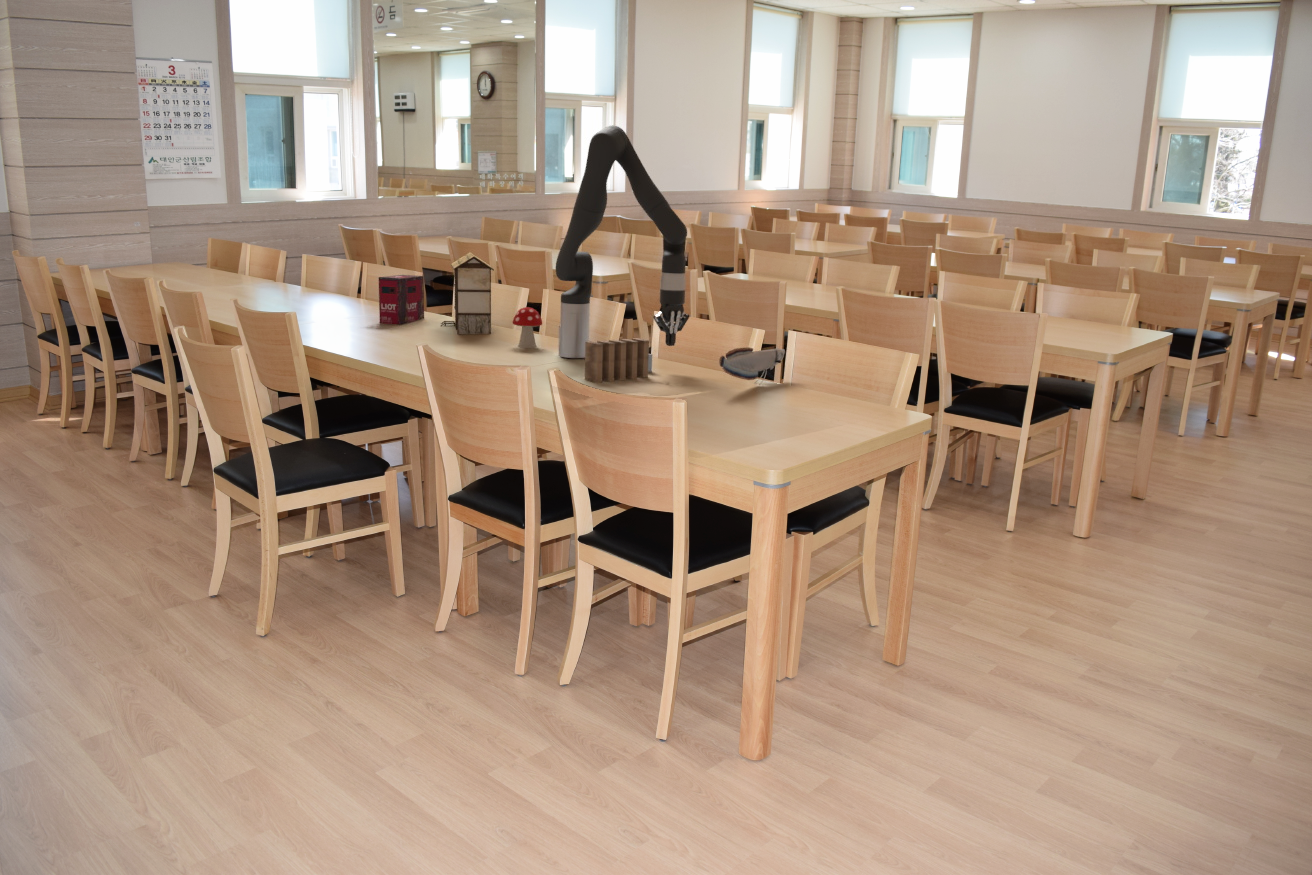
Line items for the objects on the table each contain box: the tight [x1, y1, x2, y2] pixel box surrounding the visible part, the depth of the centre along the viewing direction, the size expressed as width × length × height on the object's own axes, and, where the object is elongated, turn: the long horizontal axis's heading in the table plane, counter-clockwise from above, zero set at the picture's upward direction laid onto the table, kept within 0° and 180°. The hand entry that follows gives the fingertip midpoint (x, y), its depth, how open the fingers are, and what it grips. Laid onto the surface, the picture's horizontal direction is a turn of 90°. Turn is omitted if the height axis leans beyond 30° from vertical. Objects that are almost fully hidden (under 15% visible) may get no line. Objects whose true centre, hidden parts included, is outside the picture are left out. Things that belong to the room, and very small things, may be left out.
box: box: [378, 274, 425, 326], centre depth 379 cm, size 16×9×20 cm, turn 162°
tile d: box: [596, 340, 615, 382], centre depth 290 cm, size 6×2×11 cm, turn 39°
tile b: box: [620, 338, 638, 380], centre depth 296 cm, size 6×2×11 cm, turn 39°
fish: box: [718, 347, 786, 386], centre depth 288 cm, size 34×7×12 cm, turn 137°
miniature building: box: [440, 252, 495, 335], centre depth 365 cm, size 25×19×30 cm
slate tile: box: [648, 353, 653, 373], centre depth 308 cm, size 6×2×11 cm
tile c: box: [608, 339, 626, 381], centre depth 293 cm, size 6×2×11 cm, turn 39°
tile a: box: [631, 337, 650, 378], centre depth 298 cm, size 6×2×11 cm, turn 39°
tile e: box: [584, 340, 603, 384], centre depth 288 cm, size 6×2×11 cm, turn 39°
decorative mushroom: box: [512, 306, 543, 349], centre depth 336 cm, size 10×9×15 cm
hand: (670, 345), depth 305 cm, fingers closed
